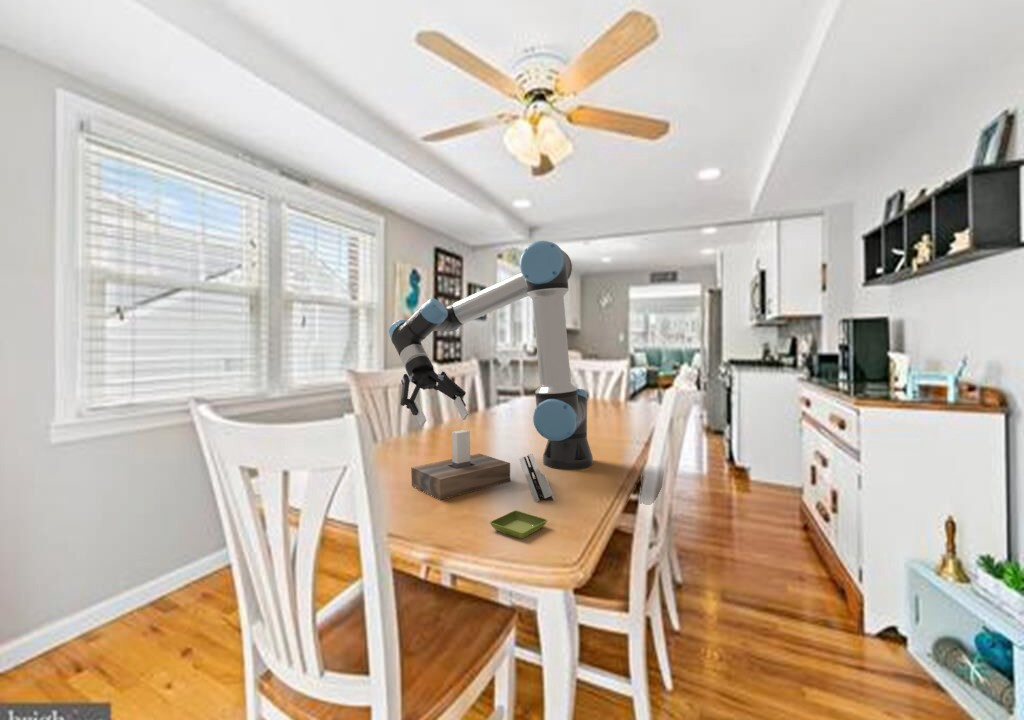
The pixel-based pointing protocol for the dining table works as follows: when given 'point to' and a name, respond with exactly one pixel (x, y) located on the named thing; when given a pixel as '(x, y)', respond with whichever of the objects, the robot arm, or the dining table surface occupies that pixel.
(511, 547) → the dining table surface
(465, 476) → the post foot
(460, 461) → the rail end
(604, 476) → the dining table surface
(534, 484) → the grey curved slotted block
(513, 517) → the olive green shallow tray
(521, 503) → the dining table surface
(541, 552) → the dining table surface
